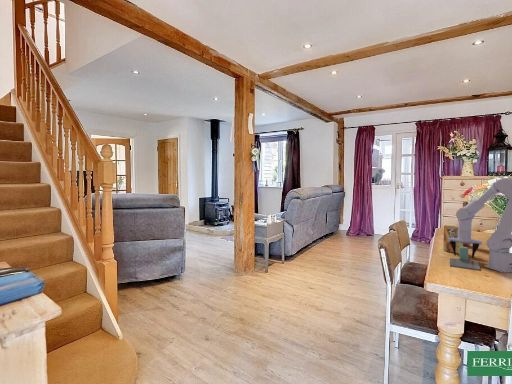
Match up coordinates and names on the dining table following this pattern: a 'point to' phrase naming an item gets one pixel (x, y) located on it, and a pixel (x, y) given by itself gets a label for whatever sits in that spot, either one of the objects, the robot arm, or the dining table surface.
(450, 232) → the candy box
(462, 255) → the teal block
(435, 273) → the dining table surface
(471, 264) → the slate board
